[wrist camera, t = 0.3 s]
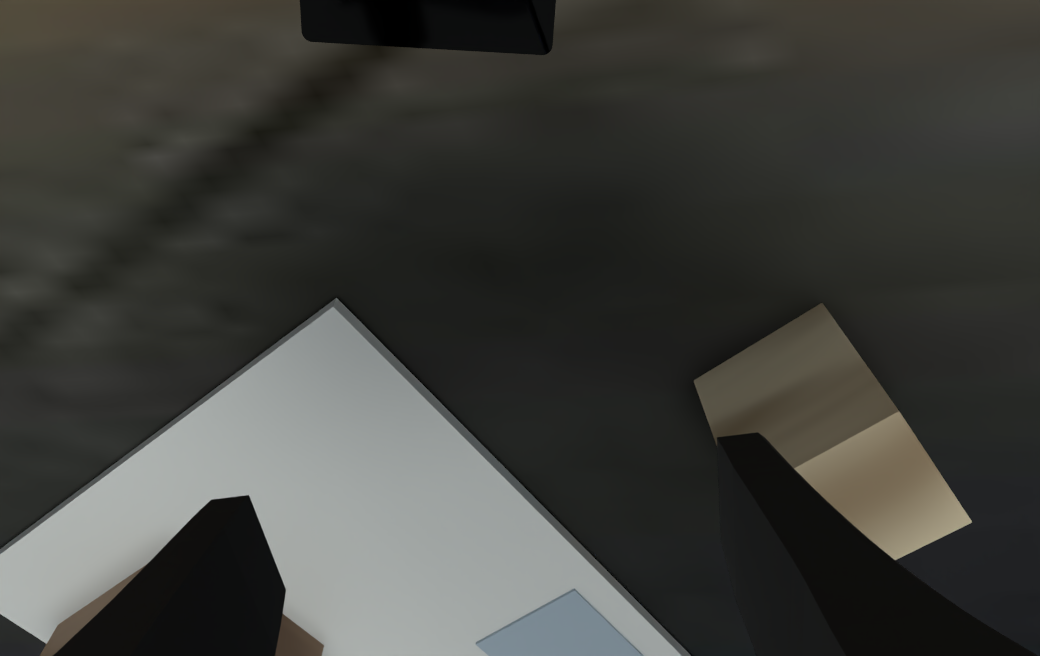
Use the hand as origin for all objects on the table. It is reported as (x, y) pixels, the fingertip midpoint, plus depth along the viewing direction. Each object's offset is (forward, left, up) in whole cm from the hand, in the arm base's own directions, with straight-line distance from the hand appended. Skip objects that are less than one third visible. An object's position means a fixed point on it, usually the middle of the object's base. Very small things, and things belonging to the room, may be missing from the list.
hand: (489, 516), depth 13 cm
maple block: (-8, -4, -10) cm, 13 cm away
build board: (-7, +12, -10) cm, 17 cm away
